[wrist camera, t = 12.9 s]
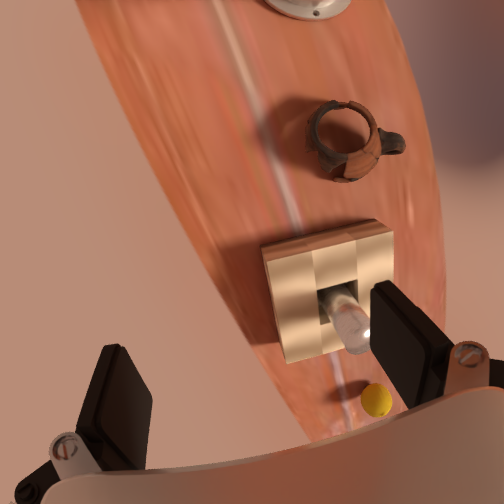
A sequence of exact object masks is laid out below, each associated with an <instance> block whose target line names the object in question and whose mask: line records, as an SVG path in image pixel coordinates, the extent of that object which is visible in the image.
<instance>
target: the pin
mask: <svg viewBox="0 0 504 504" xmlns="http://www.w3.org/2000/svg"><path fill="white" fill-rule="evenodd" d="M316 291H317V298H318V300H319V302H320V304H321V305H322V307H323V309H324V311H325V312H326V314H327V316H328V318H329V319H330V321H331V323H332V325H333V327H334V328H335V330H336V332H337V334H338V335H339V337H340V339H341V341H342V343H343V344H344V346H345V348H346V350H347V351H348V352H349V353H351V354H354V355H358V354H362V353H365V352H367V351H369V350H370V349H371V348H370V318H369V317H368V316H367V314H366V313H365V311H364V310H363V309H362V307H361V306H360V305H359V303H358V302H357V301H356V299H355V298H354V297H353V295H352V294H351V293H350V292H349V290H348V289H347V288H346V286H345V285H344V284H343V283H341V284H337V285H334V286H330V287H326V288H323V289H319V290H316Z"/></svg>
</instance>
